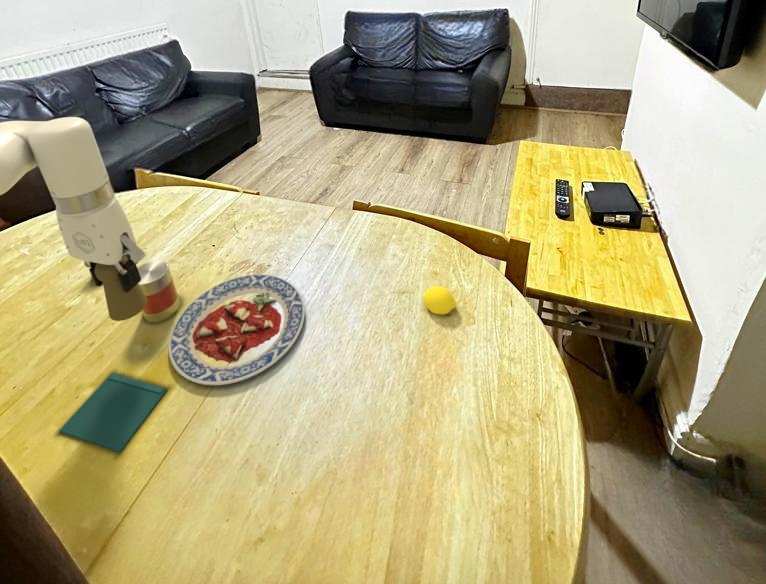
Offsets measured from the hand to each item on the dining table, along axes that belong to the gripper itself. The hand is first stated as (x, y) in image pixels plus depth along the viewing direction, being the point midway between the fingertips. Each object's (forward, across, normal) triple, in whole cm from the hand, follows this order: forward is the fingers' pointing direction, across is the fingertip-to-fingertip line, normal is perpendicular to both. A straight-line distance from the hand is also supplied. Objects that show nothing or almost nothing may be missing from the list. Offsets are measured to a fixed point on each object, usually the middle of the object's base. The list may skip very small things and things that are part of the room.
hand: (118, 282), depth 72 cm
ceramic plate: (+18, +15, +9) cm, 25 cm away
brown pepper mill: (+6, 0, 0) cm, 6 cm away
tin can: (+18, -4, +9) cm, 20 cm away
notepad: (+18, +4, -10) cm, 21 cm away
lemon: (+18, +53, +23) cm, 60 cm away
